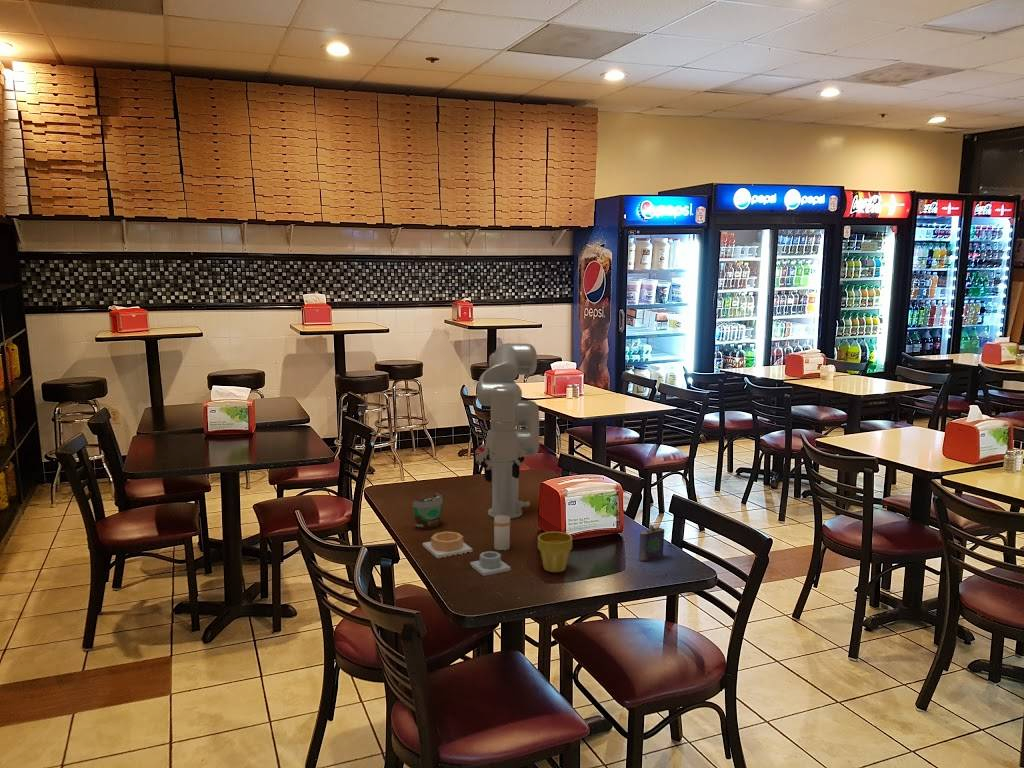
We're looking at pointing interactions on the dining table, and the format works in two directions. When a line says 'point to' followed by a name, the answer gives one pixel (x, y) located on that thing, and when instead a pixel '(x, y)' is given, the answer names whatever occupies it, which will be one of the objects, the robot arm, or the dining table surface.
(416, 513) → the food container
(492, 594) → the dining table surface
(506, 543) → the beige peg
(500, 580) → the dining table surface
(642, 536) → the flask
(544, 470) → the dining table surface
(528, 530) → the dining table surface
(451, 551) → the wide socket
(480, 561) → the narrow socket
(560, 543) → the plant pot
